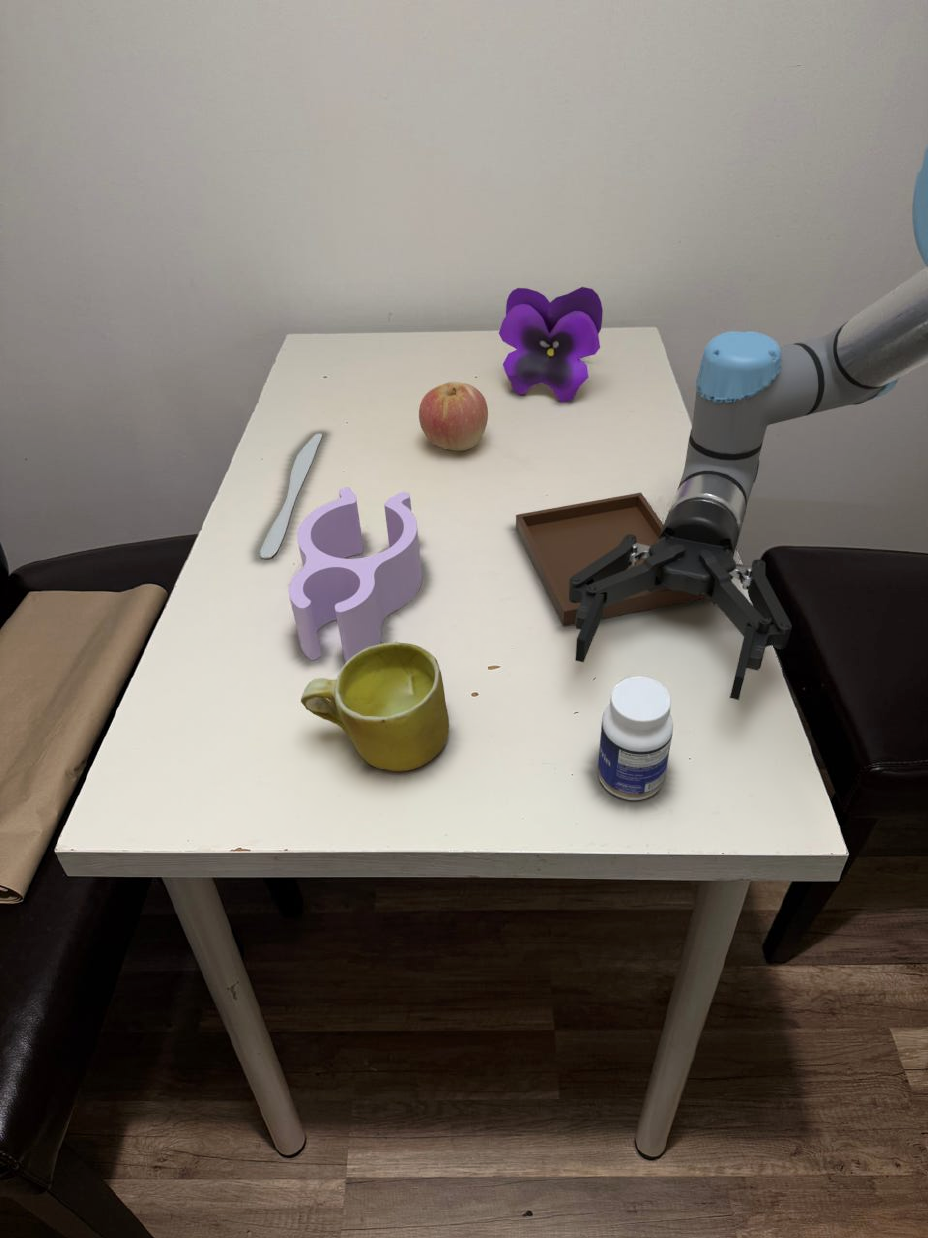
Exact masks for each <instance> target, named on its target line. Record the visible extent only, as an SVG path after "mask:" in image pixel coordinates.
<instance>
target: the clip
mask: <svg viewBox="0 0 928 1238" xmlns="http://www.w3.org/2000/svg"><path fill="white" fill-rule="evenodd" d="M338 497H339V498H337V499H334V500H332V501H329V502H326V503H324V504H322V505H320V506H319V507H317V508H315V509H314V510H312V511H311V512H310V513H308V515H306V516H305V518H304V519H302V521H301V522H300V525H299V527H298V529H297V533H296V540H297V545H298V549H299V554H300V559H301V563H302V564H301V565H302V568H301V569H300V570H299V571H297V572H296V573H295V575H294V576H293V577H292V579H291V580H290V583H289V584H288V590H287V591H288V596H289V601H290V605H291V610H292V614H293V619H294V623H295V627H296V631H297V636H298V641H299V644H300V648H301V651H302V653H303V654H304V656H306V658H308V659H309V660H311V661H317V660H318V659H320V658H321V657H322V655H323V653H322V648H321V643H320V639H319V633H318V631H319V630H320V629H321V628H322V627H323V626H324V625H326V624H329V623H331V622H333V621H337V627H338V632H339V638H340V643H341V648H342V653H343V654H342V655H343V659H344V662H345V663H346V662H347V661H348V660H349V659H350V658H351V657H352V656H354V655H355V654H357V653H358V652H360V651H362V650H363V649H366V648H368V647H371V646H375V645H379V644H381V641H382V638H383V631H382V627H383V623H384V621H385V619H386V618H387V617H388V616H389V615H391V614H392V613H394V612H396V611H398V610H400V609H402V608H403V607H405V606H406V605H407V604H408V603H410V602H411V601H412V600H413V599H414V598H415V597H416V595H417V594H418V592H419V591H420V588H421V586H422V582H423V573H422V572H423V571H422V563H421V562H422V561H421V552H420V551H421V550H420V541H419V539H420V538H419V529H418V522H417V518H416V516H415V514H414V513H413V511H412V502H411V494H410V493H409V492H407V491H401V492H398V493H396V494H394V495H393V496H391V497H389V498H388V499H387V500H386V501H384V503H383V507H384V514H385V523H386V529H387V530H386V531H387V538H388V539H387V540H388V548H387V549H385V550H384V551H381V552H379V553H377V554H373V555H370V556H365V557H361V558H360V557H359V558H349V557H352V556H357V555H361V554H363V553H364V552H365V551H364V541H363V535H362V527H361V520H360V515H359V508H358V501H357V495H356V494H355V492H354V491H353V490H352V488H351V487H342V488H340V489H339V490H338ZM345 663H344V664H345Z"/></svg>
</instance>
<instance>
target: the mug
mask: <svg viewBox="0 0 928 1238" xmlns="http://www.w3.org/2000/svg"><path fill="white" fill-rule="evenodd" d="M438 662H439V661H438V659H437V658H436V657H435V656H434V655H433V654H432V653H431V652H430V651H428V650H427V649H425V648H423V647H421V646H419V645H416V644H414V643H409V642H401V641H391V642H390V641H389V642H384V643H380V644H379V645H375V646H371V647H368V648H366V649H363V650H362V651H360V652H358V653H357V654H355V655H354V656H352V657H351V658H350V659H349V660H348V661H347V662H346V663H344V665H343V666H342V667H341V669H340V671H339V673H338V674H337V677H336V678H335V679H329V678H325V677H320V678H319V677H318V678H314V679H312V680H311V681H309V682H308V684H307V685H306V687H305V688H304V691H303V692H302V695H301V698H300V703H301V704H302V705H303V706H304V708H305V709H306V710H307V711H309V712H311V713H312V714H313V715H315V716H317V717H319V718H321V719H322V720H325V721H329V722H330V723H333V724H335V725H337V726H338V727H340V728H341V729H342V731H343V732H344V733H345V734H346V735H347V736H348V737H347V738H349V739H350V740H351V741H352V743H353V745H354V748H355V750H356V751H357V752H358V754H359V755H360V756H361V758H362V759H363V760H364V761H365V763H367V764H369V765H371V766H372V767H374V768H377V769H380V770H387V771H388V770H389V771H391V772H392V771H393V772H406V771H411V770H416V769H418V768H420V767H423V766H425V765H426V764H428V763H429V762H430V761H433V759H434V758H435V757H436V756H437V755H439V753H440V752H441V751H442V750H443V749H444V747H445V745H446V743H447V741H448V738H449V734H450V718H449V712H448V707H447V703H446V702H447V701H446V695H445V688H444V687H445V686H444V681H443V675H442V671H441V668H440V665H439V663H438Z"/></svg>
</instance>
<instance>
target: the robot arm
mask: <svg viewBox="0 0 928 1238" xmlns="http://www.w3.org/2000/svg"><path fill="white" fill-rule="evenodd" d="M922 162H923V163H922V165H921V168H920V170H919V171H918V172H917V174H916V178H915V182H914V186H913V188H914V189H913V195H912V205H911V220H912V228H913V229H912V230H913V237H914V239H915V240H914V241H915V244H916V247H917V250H918V252H919V256H920V258H921V259H922V261H923V263H924V264H925V267H924V268H923V269H920V270H919V271H918V272H916V273H915V274H913V275H912V276H910V277H909V278H908V279H906V280H905V281H903V282H902V283H900V284H899V285H897V286H896V287H894V288H893V289H892V290H890V291H889V292H887V293H885V294H884V295H883V296H882V297H880V298H879V299H877V300H876V301H875V302H873V303H871V304H870V305H868V306H867V307H866V308H864V309H863V310H861V311H860V312H858V313H857V314H855V315H854V316H852V317H851V318H850V319H849V320H848V321H846V322H844V323H843V324H841V325H840V326H838V327H836V328H835V329H834V330H832V331H831V332H829V333H828V334H825V335H823V336H821V337H816V338H812V339H808V340H803V341H799V342H795V343H791V344H785V345H779V342H777V341H776V339H774V338H773V337H770V336H769V335H767V334H764V333H762V332H759V331H758V332H757V331H751V330H746V331H738V330H730V331H726V332H722V333H720V334H718V335H716V336H714V337H713V338H711V339H710V340H709V341H708V343H707V344H706V346H705V347H704V350H703V354H702V358H701V360H700V365H699V370H698V374H697V377H696V381H695V384H696V385H695V388H696V391H695V400H694V408H693V416H692V423H691V429H690V433H689V437H688V442H687V449H686V456H685V462H684V468H683V472H682V475H681V478H680V482H679V485H678V487H677V489H676V492H675V494H674V496H673V499H672V501H671V503H670V507H669V509H668V512H667V516H666V518H665V520H664V522H663V528H662V531H661V533H660V536H659V539H658V541H657V542H656V543H654V544H653V545H651V546H647V545H643V544H640V543H636V540H637V537H636V536H635V535H633V534H628V535H626V536H625V537H624V538H623V540H622V542H621V543H620V545H619V546H618V547H616V548H615V549H613V550H612V551H610V552H608V553H607V554H605V555H604V556H602V557H601V558H599V559H598V560H596V561H595V562H593V563H592V564H590V565H589V566H587V567H586V568H584V569H583V570H581V571H580V572H578V573H577V574H575V575H574V576H572V577H571V578H570V580H569V601H570V602H572V603H578V602H579V603H580V606H579V608H578V610H577V612H576V623H575V624H574V625H575V629H577V630H579V633H578V635H577V637H576V643H575V660H574V661H576V662H580V663H584V662H585V660H586V657H587V655H588V653H589V650H590V648H591V645H592V644H593V641H594V638H595V635H596V634H597V631H598V628H599V626H600V623H601V622H602V621H601V620H603V619H602V615H603V607H606V606H608V605H611V604H613V603H616V602H618V601H620V600H623V599H625V598H628V597H630V596H632V595H635V594H637V593H640V592H642V591H645V590H648V591H650V592H651V591H654V590H656V589H658V588H661V587H663V586H667V589H671V590H679V591H685V592H688V593H690V594H694V595H699V593H703V595H704V597H706V599H707V600H708V601H709V602H710V603H711V605H712V606H717V607H718V608H719V609H720V611H722V613H723V614H724V615H725V617H727V619H728V620H729V621H730V622H731V624H732V625H733V626H734V628H736V629H737V631H738V632H739V633H740V634H741V635H742V637H743V640H742V644H741V648H740V653H739V657H738V661H737V666H736V669H735V674H734V679H733V683H732V687H731V691H730V695H729V698H730V699H733V700H736V701H739V700H740V697H741V694H742V689H743V685H744V680H745V676H746V673H747V669H749V670H753V671H756V672H757V671H759V670H760V669H761V668H762V663H763V659H764V657H765V652H766V651H765V650H766V648H767V647H770V646H773V647H774V648H775V649H777V650H784V649H786V648H787V644H788V642H789V638H790V634H791V631H792V627H793V625H792V623H791V621H790V618H789V617H788V615H787V613H786V612H785V610H784V608H783V606H782V604H781V602H780V600H779V599H778V596H777V595H776V593H775V591H774V589H773V587H772V585H771V583H770V582H769V580H768V578H767V576H766V565H767V564H766V562H765V561H764V560H762V559H754V560H752V563H751V565H750V564H739V563H736V560H735V559H734V558H735V553H736V549H737V546H738V542H739V540H740V539H739V537H740V534H741V532H742V527H743V524H744V520H745V518H746V517H745V516H746V512H747V507H748V503H749V500H750V497H751V493H752V491H753V486H754V484H755V482H756V479H757V477H758V472H759V467H760V461H761V460H760V456H761V450H762V447H763V443H764V439H765V435H766V431H767V427H768V426H770V425H773V424H777V423H778V424H779V423H782V422H786V421H787V422H788V421H791V420H794V419H798V418H802V417H806V416H809V415H813V414H818V413H821V412H825V411H829V410H835V409H838V408H842V407H846V406H852V405H854V406H857V405H861V404H864V403H867V402H869V401H872V400H874V399H876V398H879V397H882V396H884V395H886V394H888V393H890V392H891V391H893V390H894V389H895V387H896V385H897V383H898V381H899V380H900V379H901V378H902V377H903V376H905V375H907V374H908V373H910V372H913V371H914V370H916V369H918V368H919V367H921V366H924V365H925V364H927V363H928V144H927V145H926V148H925V150H924V155H923V160H922ZM641 559H645V560H644V561H643V563H642V564H640V565H637V566H635V565H636V562H638V561H639V560H641ZM630 565H631V566H635V567H632V568H630V569H627V568H628V567H629V566H630ZM626 569H627V570H626ZM733 578H735V579H738V580H739V581H740V584H741V585H742V589H743V590H745V591H747V595H748V598H749V599H748V598H747V597H746V596H745V594H743V592H741V591H740V590H739V588H738V587H737V586H736V585H735V584H734V582H733V581H732V580H733ZM749 600H750V601H749Z"/></svg>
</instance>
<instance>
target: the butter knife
mask: <svg viewBox="0 0 928 1238" xmlns="http://www.w3.org/2000/svg"><path fill="white" fill-rule="evenodd" d="M322 438H323V434H322V433H315V434H314V435H313V437H312V438H310V440H308V442H306V444H305V445H304V446H303V448H301V450H300V451H299V453H297V455H296V457H295V461H294V463H293V466H292V469H291V472H290V477H289V484H288V485H289V486H288V491H287V495H286V499H285V501H284V503H283V506H282V507H281V510H280V512H279V514H278V516H277V517H276V519H275V521H274V522H273V523H272V525H271V527H270V529H269V531H268V532H267V535H266V537H265V539H264V541H263V543H262V545H261V547H260V549H259V550H260V551H259V557H260V558H262V559H266V560H267V559H271V558H273V556H275V555H276V553H277V552H278V551H279V548H280V546H281V544H282V542H283V539H284V537H285V533H286V531H287V528H288V526H289V525H288V524H289V522H290V521H289V520H290V517H291V513H292V510H293V507H294V504H295V502H296V499H297V496H298V494H299V491H300V490H301V487H302V485H303V483H304V480H305V478H306V476H307V474H308V471H309V470H310V467H311V465H312V463H313V460H314V458H315V455H316V452H317V450H318V447H319V444H320V442H321V440H322Z"/></svg>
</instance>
